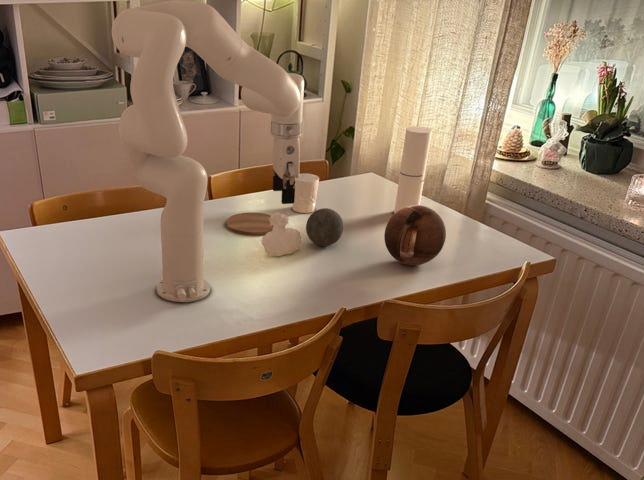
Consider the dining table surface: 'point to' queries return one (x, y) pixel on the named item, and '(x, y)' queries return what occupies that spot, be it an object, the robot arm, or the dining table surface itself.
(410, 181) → the cylindrical container
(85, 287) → the dining table surface
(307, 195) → the white cup
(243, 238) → the dining table surface
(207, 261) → the dining table surface
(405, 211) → the wooden sphere
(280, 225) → the bust
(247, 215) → the round wooden disc
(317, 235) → the decorative ball
